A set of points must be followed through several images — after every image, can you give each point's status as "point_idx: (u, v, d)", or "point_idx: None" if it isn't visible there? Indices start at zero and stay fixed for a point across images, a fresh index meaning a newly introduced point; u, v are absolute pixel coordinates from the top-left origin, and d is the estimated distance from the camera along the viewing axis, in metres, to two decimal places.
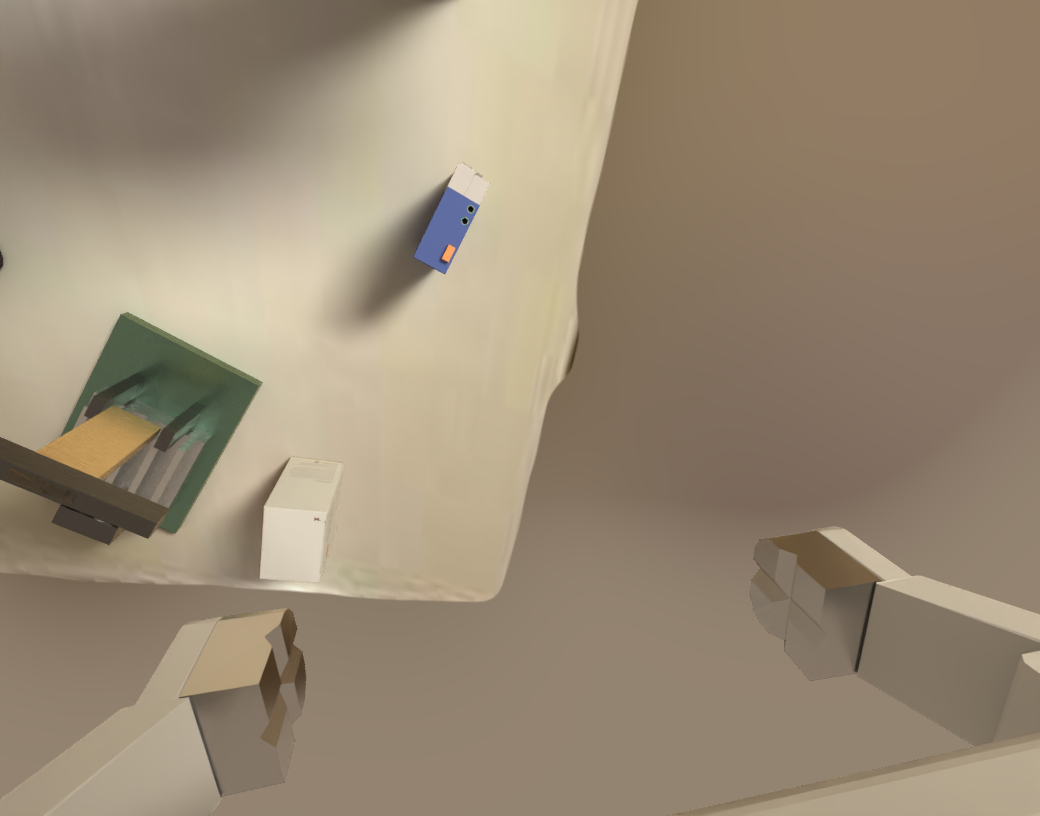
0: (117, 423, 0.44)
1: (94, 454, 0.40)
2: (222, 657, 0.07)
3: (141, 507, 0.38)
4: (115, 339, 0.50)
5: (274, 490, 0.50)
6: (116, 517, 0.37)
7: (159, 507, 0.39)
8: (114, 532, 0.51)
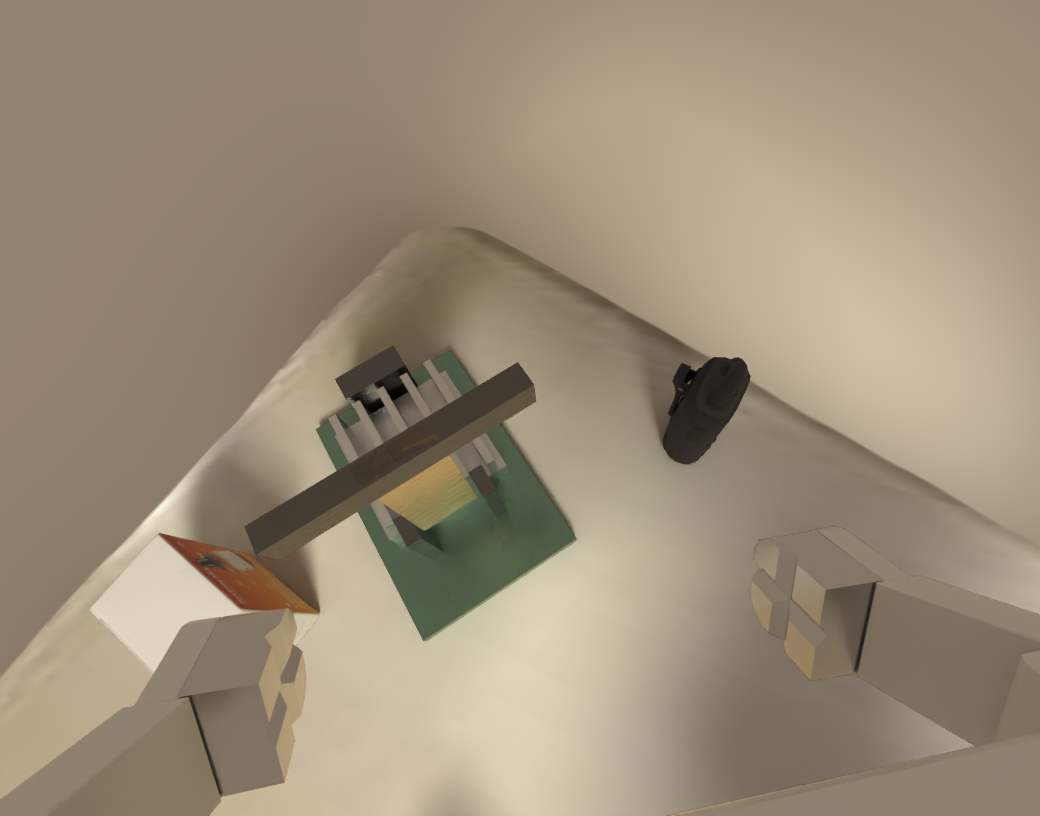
0: (450, 502, 0.33)
1: (416, 492, 0.28)
2: (222, 657, 0.07)
3: (298, 538, 0.24)
4: (552, 514, 0.41)
5: None
6: (299, 509, 0.23)
7: (287, 551, 0.24)
8: (344, 393, 0.40)
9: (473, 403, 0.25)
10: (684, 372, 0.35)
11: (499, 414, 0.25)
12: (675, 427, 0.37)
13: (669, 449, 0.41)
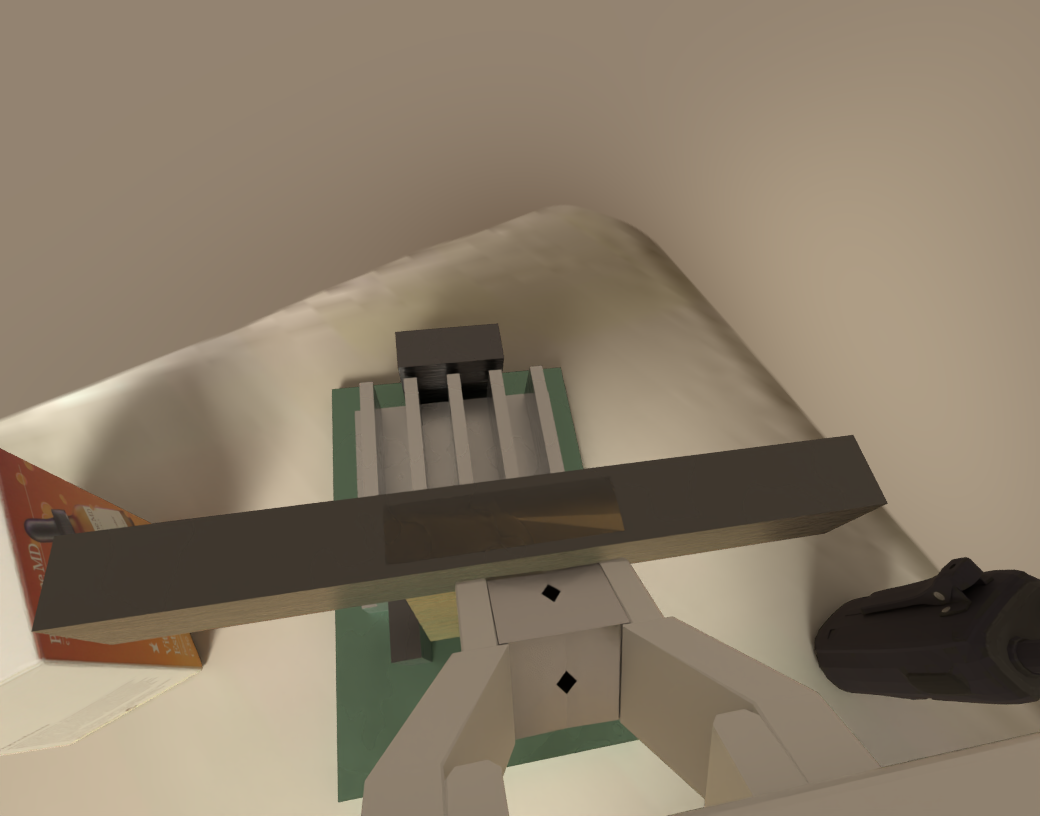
0: None
1: None
2: (514, 611, 0.08)
3: (174, 624, 0.09)
4: None
5: (97, 669, 0.18)
6: (211, 554, 0.08)
7: (139, 637, 0.09)
8: (399, 357, 0.25)
9: (732, 483, 0.10)
10: (972, 576, 0.19)
11: (765, 531, 0.10)
12: (889, 646, 0.22)
13: (831, 658, 0.26)
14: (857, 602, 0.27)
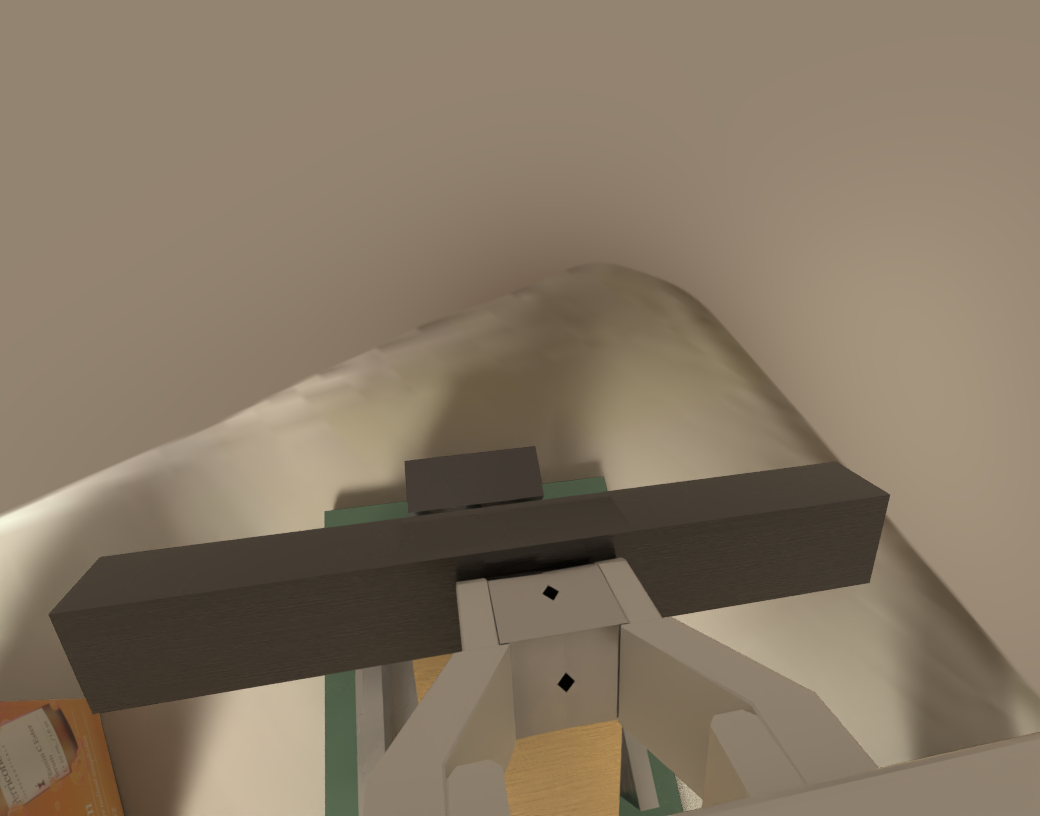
0: None
1: None
2: (515, 611, 0.08)
3: (175, 648, 0.08)
4: None
5: None
6: (235, 559, 0.09)
7: (127, 692, 0.09)
8: (410, 498, 0.20)
9: (728, 493, 0.10)
10: None
11: (786, 548, 0.10)
12: None
13: None
14: None
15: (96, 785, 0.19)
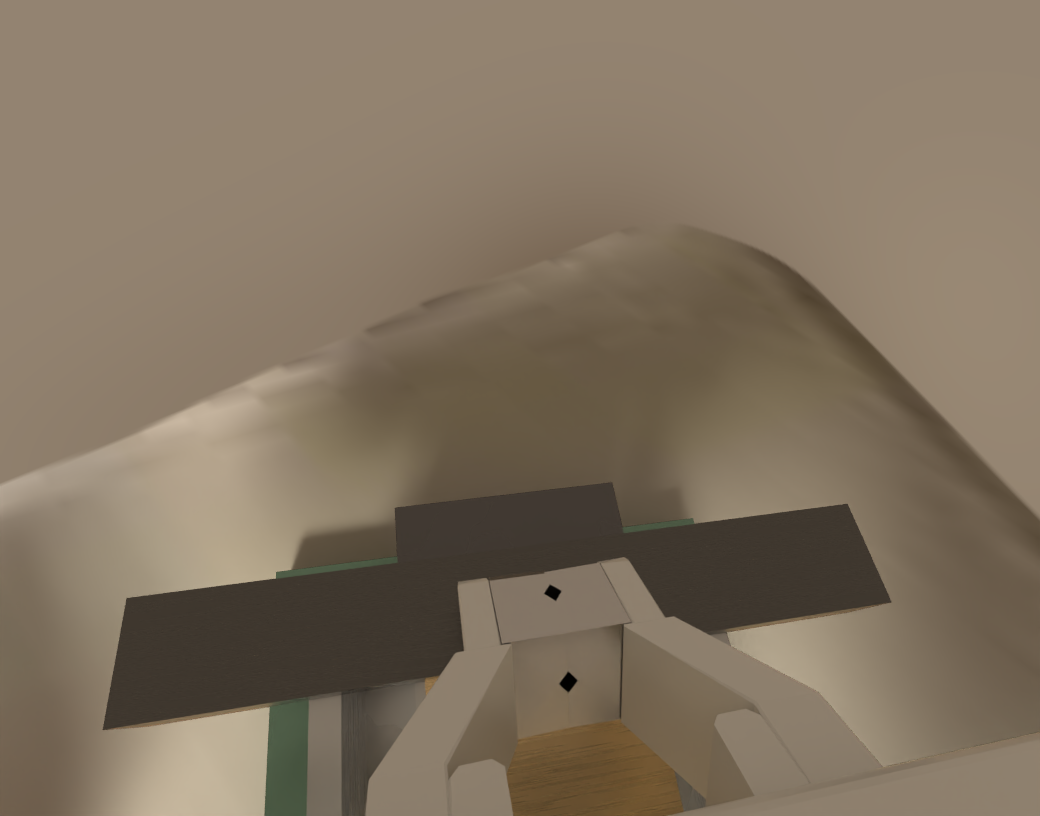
0: None
1: None
2: (517, 611, 0.08)
3: (210, 644, 0.09)
4: None
5: None
6: None
7: (147, 701, 0.09)
8: None
9: None
10: None
11: (775, 556, 0.11)
12: None
13: None
14: None
15: None
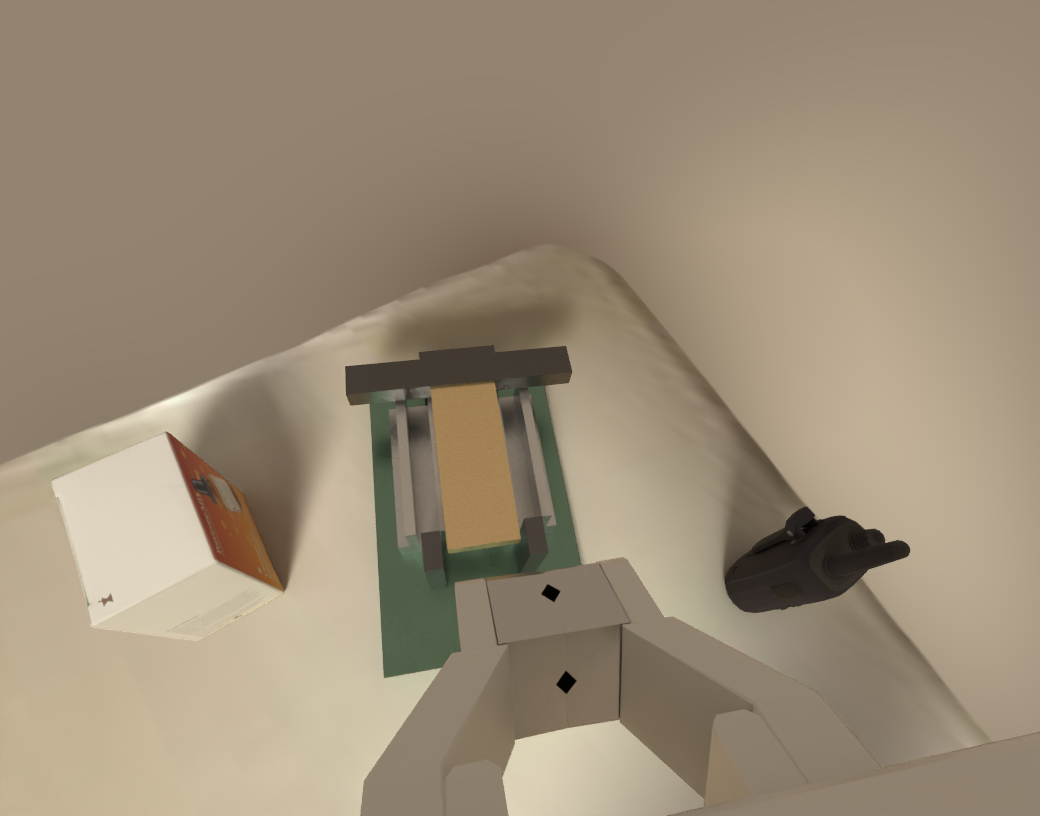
0: (487, 501, 0.30)
1: (460, 423, 0.32)
2: (514, 611, 0.08)
3: (370, 377, 0.33)
4: None
5: (236, 575, 0.28)
6: None
7: (356, 388, 0.33)
8: None
9: None
10: (806, 518, 0.29)
11: (538, 359, 0.35)
12: (762, 570, 0.32)
13: (733, 587, 0.36)
14: None
15: (252, 526, 0.35)
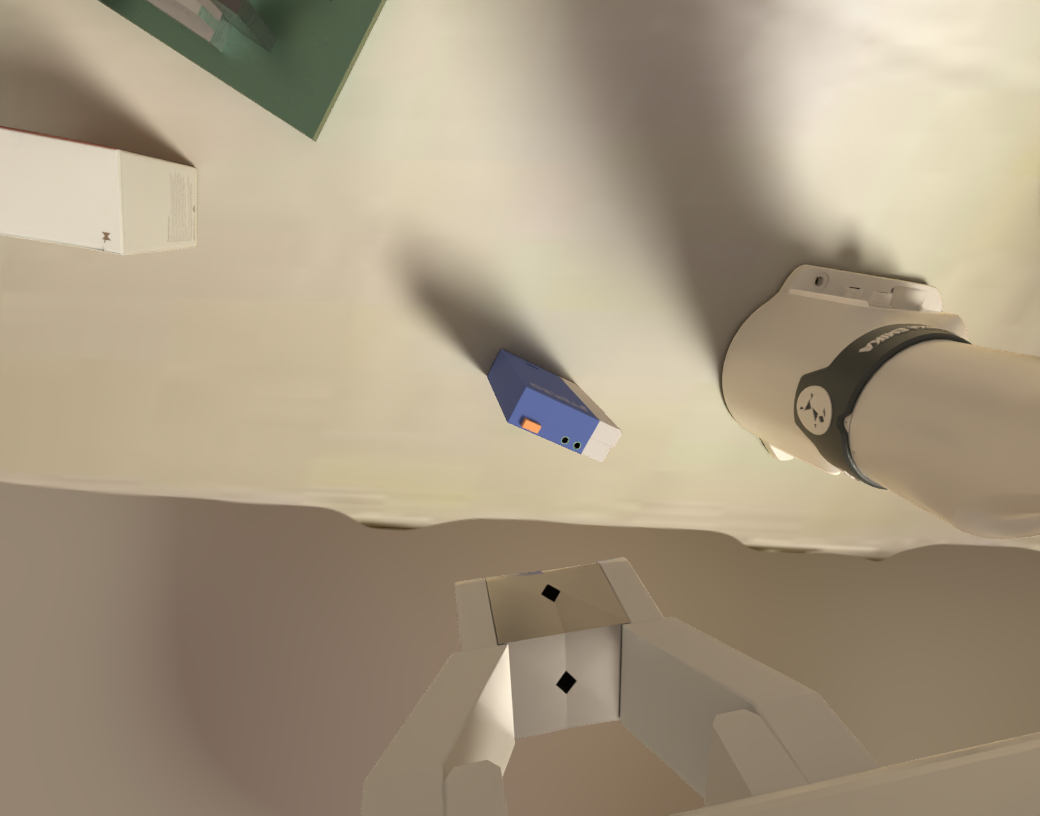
0: None
1: None
2: (514, 611, 0.08)
3: None
4: None
5: (146, 159, 0.31)
6: None
7: None
8: None
9: None
10: None
11: None
12: None
13: None
14: None
15: None
